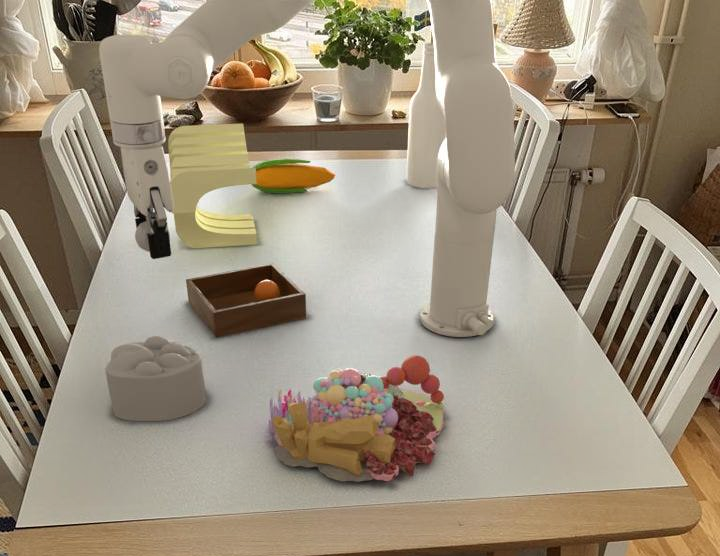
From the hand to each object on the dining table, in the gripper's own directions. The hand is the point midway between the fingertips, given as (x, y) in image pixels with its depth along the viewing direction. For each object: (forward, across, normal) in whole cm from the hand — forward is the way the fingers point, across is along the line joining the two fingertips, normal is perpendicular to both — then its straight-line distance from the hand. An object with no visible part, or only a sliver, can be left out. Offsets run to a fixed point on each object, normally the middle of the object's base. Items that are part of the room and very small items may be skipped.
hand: (154, 248), depth 134 cm
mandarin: (+11, 0, -18) cm, 22 cm away
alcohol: (+14, +46, -78) cm, 91 cm away
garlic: (0, 0, 0) cm, 0 cm away
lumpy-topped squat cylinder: (+14, -22, +7) cm, 28 cm away
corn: (+14, +54, -46) cm, 72 cm away
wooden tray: (+14, 0, -14) cm, 20 cm away
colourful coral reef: (+14, -42, -15) cm, 47 cm away
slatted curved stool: (+14, +36, -22) cm, 44 cm away
